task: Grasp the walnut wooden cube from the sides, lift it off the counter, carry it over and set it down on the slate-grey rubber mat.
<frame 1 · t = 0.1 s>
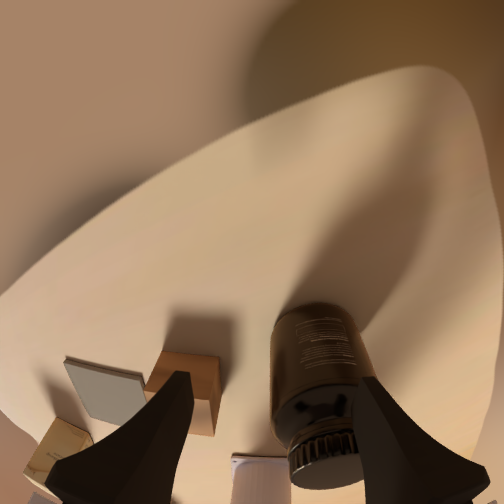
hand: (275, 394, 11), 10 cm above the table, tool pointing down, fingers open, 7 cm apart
walnut cube: (192, 374, 24), on the table
supplement bottle: (313, 335, 22), on the table
slate mat: (112, 398, 27), on the table
skincare box: (75, 430, 32), on the table
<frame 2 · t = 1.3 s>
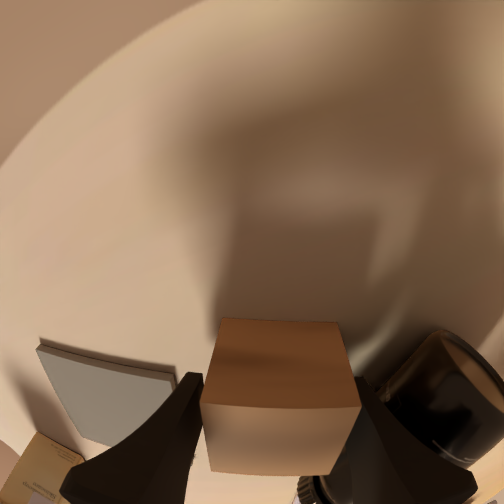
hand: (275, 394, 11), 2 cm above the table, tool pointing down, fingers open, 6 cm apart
walnut cube: (276, 362, 13), on the table
supplement bottle: (486, 366, 9), point 3 cm above the table, touching gripper
slate mat: (117, 411, 16), on the table
skincare box: (63, 450, 21), on the table
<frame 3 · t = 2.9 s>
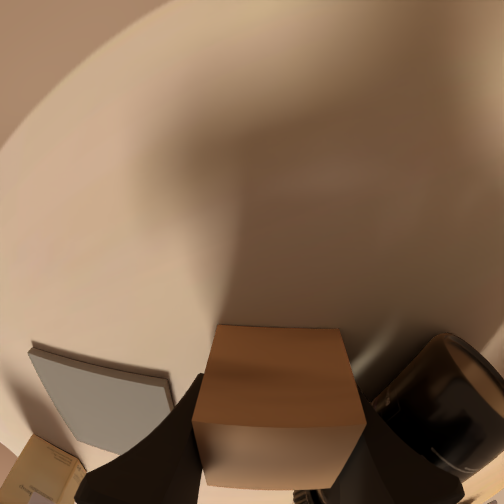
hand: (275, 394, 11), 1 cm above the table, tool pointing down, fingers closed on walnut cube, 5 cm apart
walnut cube: (275, 371, 13), on the table, touching gripper
supplement bottle: (491, 372, 8), point 3 cm above the table, touching gripper
slate mat: (111, 415, 15), on the table
skincare box: (60, 452, 20), on the table
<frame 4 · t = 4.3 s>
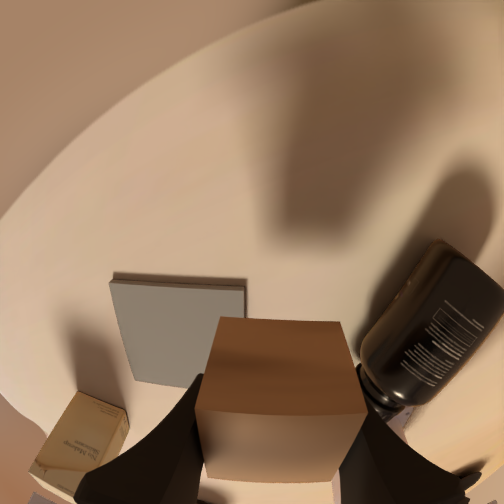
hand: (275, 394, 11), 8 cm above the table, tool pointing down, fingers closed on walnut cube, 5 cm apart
walnut cube: (276, 364, 13), point 7 cm above the table, touching gripper
supplement bottle: (478, 263, 14), point 3 cm above the table
spread jar: (185, 503, 36), on the table
slate mat: (181, 339, 21), on the table
skincare box: (103, 409, 26), on the table
casserole: (425, 495, 35), on the table
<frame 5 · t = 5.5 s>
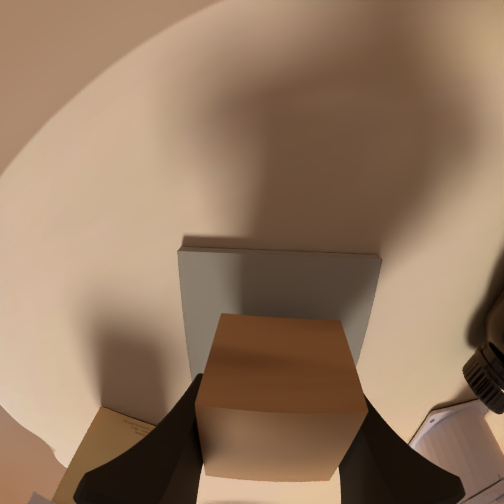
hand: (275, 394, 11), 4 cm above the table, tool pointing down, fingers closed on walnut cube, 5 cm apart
walnut cube: (276, 362, 13), point 3 cm above the table, touching gripper
slate mat: (275, 334, 15), on the table
skincare box: (135, 428, 20), on the table
when the fingers open (3 cm above the table, at t = 6.3 s): walnut cube stays where it is, resting on slate mat.
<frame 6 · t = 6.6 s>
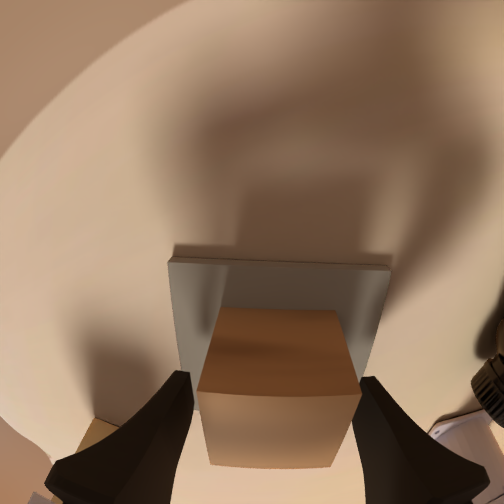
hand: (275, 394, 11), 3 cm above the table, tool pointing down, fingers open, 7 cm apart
walnut cube: (275, 353, 13), point 1 cm above the table, touching slate mat
slate mat: (275, 350, 14), on the table
skincare box: (129, 440, 19), on the table
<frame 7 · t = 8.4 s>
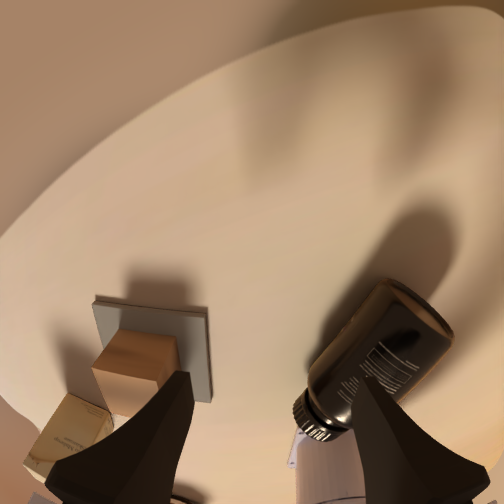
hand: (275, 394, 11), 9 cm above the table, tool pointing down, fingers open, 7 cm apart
walnut cube: (151, 356, 22), point 1 cm above the table, touching slate mat
supplement bottle: (424, 304, 16), point 3 cm above the table
spread jar: (167, 499, 38), on the table
slate mat: (154, 354, 23), on the table
skincare box: (90, 410, 28), on the table
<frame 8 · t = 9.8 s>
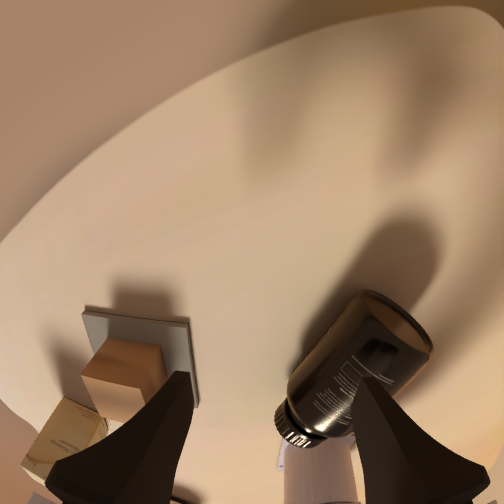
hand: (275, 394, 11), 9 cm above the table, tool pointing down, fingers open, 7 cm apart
walnut cube: (139, 363, 23), point 1 cm above the table, touching slate mat
supplement bottle: (402, 316, 17), point 3 cm above the table
spread jar: (164, 500, 38), on the table
slate mat: (142, 361, 23), on the table
skincare box: (85, 413, 28), on the table
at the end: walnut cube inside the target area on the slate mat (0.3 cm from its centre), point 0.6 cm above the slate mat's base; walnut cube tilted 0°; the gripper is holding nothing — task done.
